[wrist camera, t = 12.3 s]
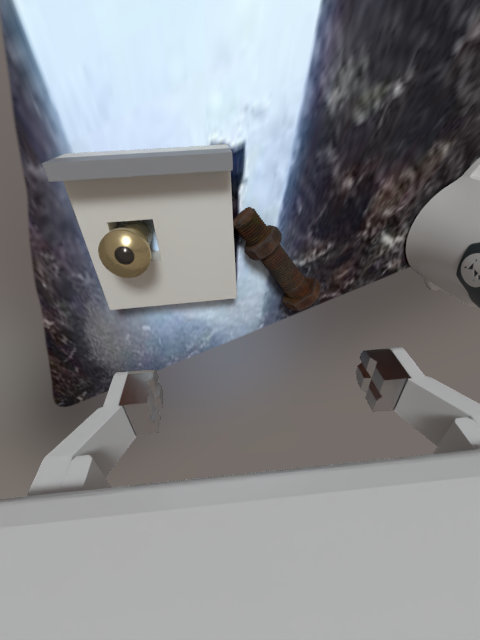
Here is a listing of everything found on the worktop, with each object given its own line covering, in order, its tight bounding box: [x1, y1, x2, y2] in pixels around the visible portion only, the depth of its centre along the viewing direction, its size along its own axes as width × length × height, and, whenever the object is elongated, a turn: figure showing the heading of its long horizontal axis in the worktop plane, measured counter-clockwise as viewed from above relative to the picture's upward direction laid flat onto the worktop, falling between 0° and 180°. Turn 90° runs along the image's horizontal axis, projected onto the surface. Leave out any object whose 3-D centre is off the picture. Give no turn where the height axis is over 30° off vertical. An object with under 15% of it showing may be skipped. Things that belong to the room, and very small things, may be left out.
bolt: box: [233, 207, 321, 311], centre depth 39 cm, size 6×5×15 cm
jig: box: [42, 144, 237, 310], centre depth 35 cm, size 17×18×6 cm
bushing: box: [98, 220, 152, 278], centre depth 34 cm, size 5×5×7 cm
